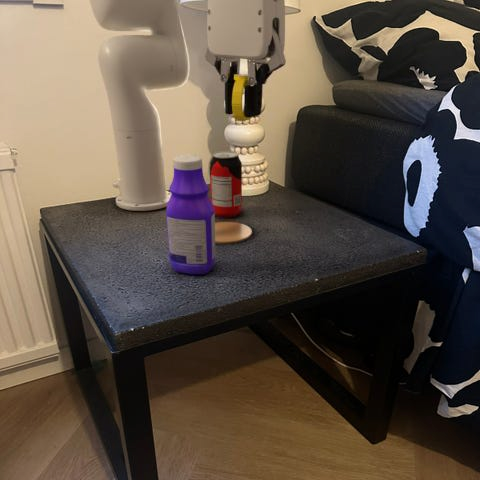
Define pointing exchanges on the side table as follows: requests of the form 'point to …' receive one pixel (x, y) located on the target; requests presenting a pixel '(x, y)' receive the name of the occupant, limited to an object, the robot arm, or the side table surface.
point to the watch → (239, 96)
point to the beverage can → (226, 183)
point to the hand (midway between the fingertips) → (243, 113)
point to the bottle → (190, 218)
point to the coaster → (231, 232)
